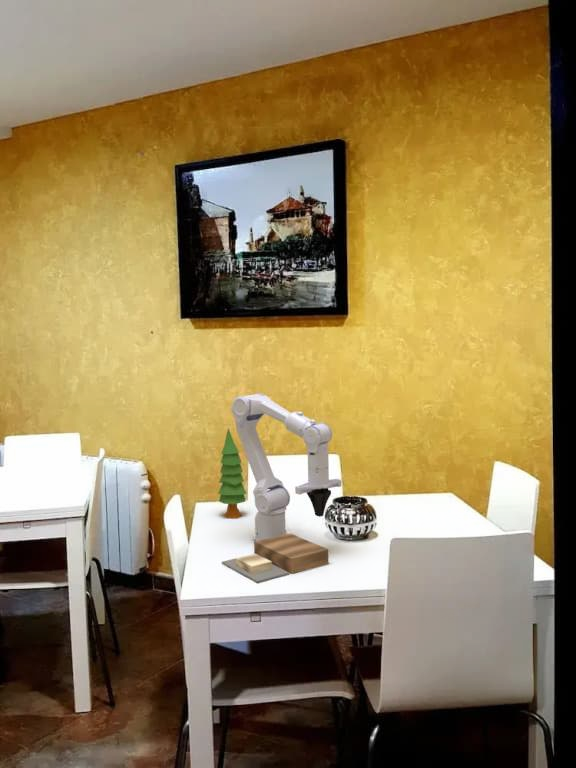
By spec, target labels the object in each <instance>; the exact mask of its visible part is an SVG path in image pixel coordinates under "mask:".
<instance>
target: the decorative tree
mask: <svg viewBox="0 0 576 768" xmlns="http://www.w3.org/2000/svg"><path fill="white" fill-rule="evenodd" d="M224 441H225V442H224V445H223V446H222V447H223V448H222V451H221V455H222V457H221V460H220V464H222V465H221V468H220V471H219V472H220V474H221V476H220V479H219V482H218V483H219V484H221V486H220V488H219V491H218V493H217V495H220V496H219V500H218V502H219V503H220V504H221V503H222V504H224V505H227V507H226V512H225V514H224V517H225V518H226V519H238V518H239V517H242V516H243V515H242V513H241V512H240V510H239V509H238V504H241V503H245V502H246V496H245V495H247V491H246V489H245V487H244V485H243V482H244V481H245V480H244V477H243V476H242V475H243V474H242V473H243V468H242V465H241V464H242V460H241V457H240V451H239V449H238V447H237V445H236V444H235V441H234V439H233V435H232V434H231V431H230V429H229V428H227V430H226V436H225V440H224Z"/></svg>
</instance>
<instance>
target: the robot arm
mask: <svg viewBox="0 0 576 768" xmlns="http://www.w3.org/2000/svg"><path fill="white" fill-rule="evenodd" d="M230 410H231V414H232V415H233V418H234V422H235V423H234V424H235V430H236V432H237V435H238V438H239V440H240V443H241V446H242V448H243V451H244V454H245V456H246V458H247V461H248V464H249V466H250V469H251V472H252V475H253V476H254V479H255V482H256V485H255V486H254V488H253V490H252V494H253V496H254V505H255V506H254V507H255V509H257V512H256V514H255V517H254V531H255V534H254V535H255V536H254V537H253V538H252V540H253V541H258V540H263V539H267V538H271V537H276V536H280V535H284V534H287V530H286V526H287V525H286V511H287V506H289V504H290V502H291V494H290V492H289V491H288V489H287V488H286V487H285V485H284V484H283V481H282V480H280V479H278V478H277V477H276V476H275V475H274V473H273V470H272V467H271V465H270V462H269V460H268V458H267V454H266V452H265V450H264V449H265V448H264V446H263V443H262V440H261V438H260V437H259V434H258V432H257V429H256V428H257V425H258V423H260V422H259V421H261V419H262V418H263V416H264V415H267V416H268V417H271V418H273V419H275V420H277V421H279V422H282V424H284V425H285V429H286V430H287V431H289V432H291V433H292V434H294V435H295V436H298V437H300V438H301V439H303V443H304V444H305V446H306V448H305V449H306V451H307V481H308V482H305V483H303V484H300V485H295V488H294V491H295V494H296V495H303V494H306V495H307V496H308V498H309V500H310V502H311V505H312V507H313V512H314V515H315V516H316V517H319V518H320V517H324V514H325V510H326V506H327V503H328V500H329V498H330V497H331V494H332V490H330V489H331V488H338V487H339V488H340V487H342V480H341V479H339V478H333V479H330V476H329V475H330V474H329V473H330V471H329V462H330V461H329V442H330V441H331V440H332V437H333V431H332V428H331V426H329V425H328V424H327V423H326V422H319V423H318V422H317V421H316V420H315V419H311V418H309V417H307V416H306V415H304V413H303V412H302V411H294V412H293V411H292V412H290V411H288V410H287V409H286V408H284V407H282V406H281V405H279V404H277V403H276V402H275V401H274V400H272V399H271V398H270V397H269V396H268V395H265V394H264V393H259V392H258V393H255V394H248V395H238V396H236V397H235V398H234V400H233V402H232V405H231V409H230Z"/></svg>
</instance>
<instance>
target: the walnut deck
mask: <svg viewBox="0 0 576 768" xmlns="http://www.w3.org/2000/svg"><path fill="white" fill-rule="evenodd" d="M253 547H254V548H253V549H254V550H253V551H254V552H253V554H257V555H259V556H261V557H263V558H266V559H268V560H270V561H272V564H273V565H275V566H277V567H279V568H281V569H283V570H285V571H287V572H289V574H291V575H292V574H297V573H300V572H303V571H308V570H311V569H314V568H318V567H323V566H326V565H328V564H329V549H328V548H326V547H324V546H321V545H319V544H316V543H314V542H311V541H309V540H307V539H304V538H302V537H300V536H298V535H295V534H292V533H289V532H288V533H286V534H284V535H280V536H276V537H271V538H267V539H263V540H258V541H256V540H253Z"/></svg>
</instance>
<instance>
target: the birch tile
mask: <svg viewBox="0 0 576 768" xmlns="http://www.w3.org/2000/svg"><path fill="white" fill-rule="evenodd" d="M239 557H240V558H239ZM239 557H236V566H238V567H240V568H242V569H244V570H245V571H247V572H249V573H251V574H255V573H259V572H263V571H267V570H270V569H272V561H270V560H268V559H266V558H263V557H261V556H259V555H257V554H254V553H252V554H248V555H245V556H244V555H243V556H239Z"/></svg>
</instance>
